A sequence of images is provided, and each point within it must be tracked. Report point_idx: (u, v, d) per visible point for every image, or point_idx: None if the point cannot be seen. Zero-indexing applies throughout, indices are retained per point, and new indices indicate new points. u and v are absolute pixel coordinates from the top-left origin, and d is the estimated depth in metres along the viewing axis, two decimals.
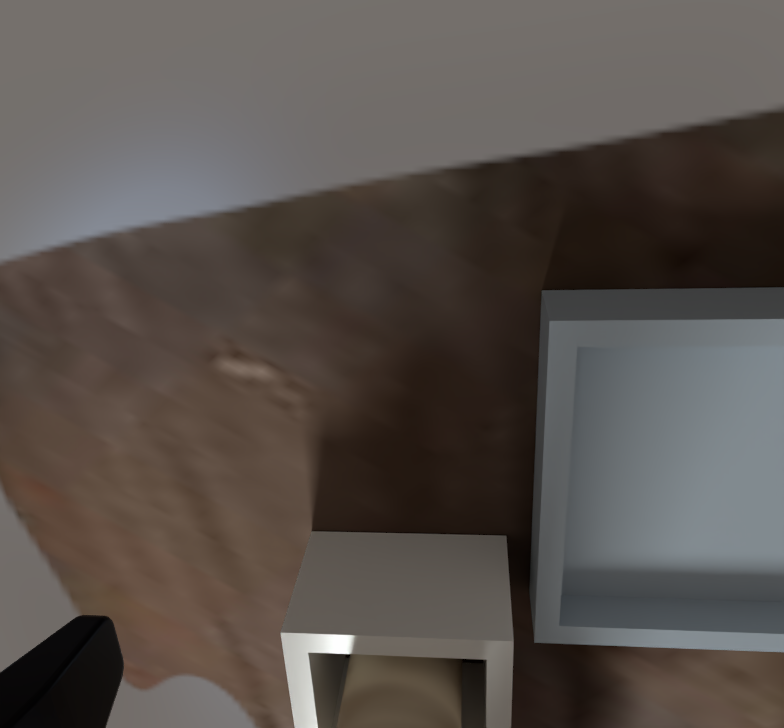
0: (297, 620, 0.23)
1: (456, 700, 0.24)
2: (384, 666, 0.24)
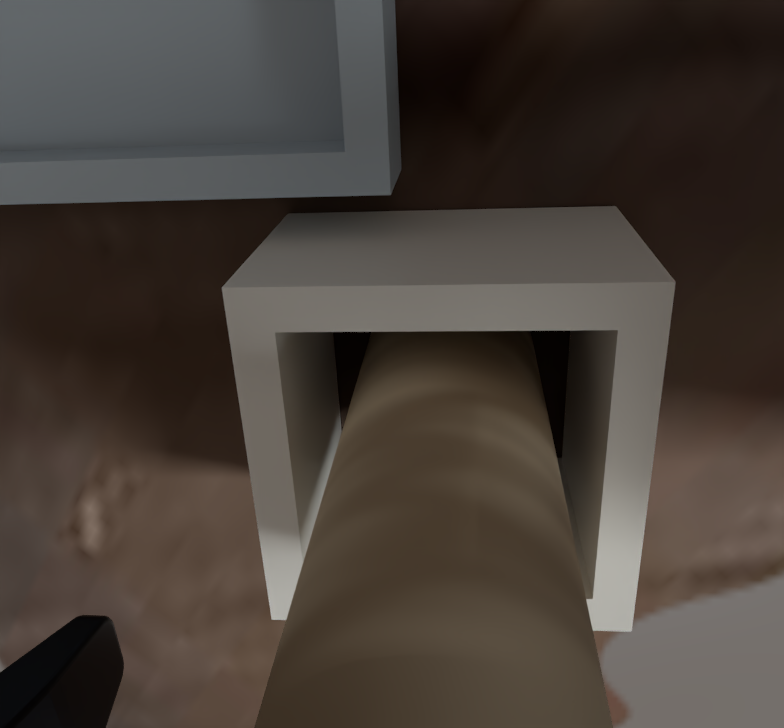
0: None
1: (399, 378, 0.13)
2: None
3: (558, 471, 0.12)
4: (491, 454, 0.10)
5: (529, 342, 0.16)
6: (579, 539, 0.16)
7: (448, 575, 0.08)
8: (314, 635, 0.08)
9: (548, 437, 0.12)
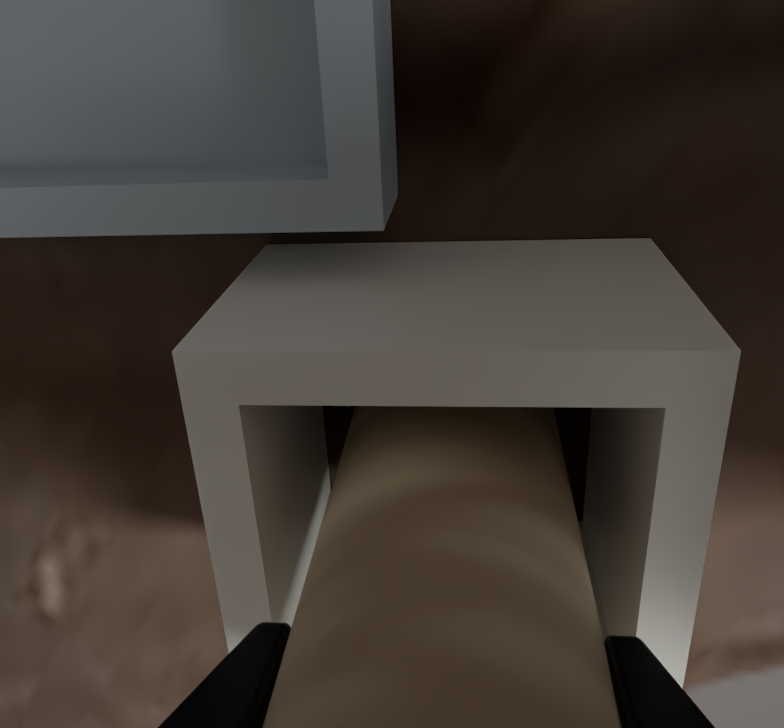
0: None
1: (391, 460, 0.10)
2: None
3: (589, 582, 0.10)
4: (508, 581, 0.08)
5: None
6: (606, 631, 0.13)
7: None
8: None
9: (575, 534, 0.10)
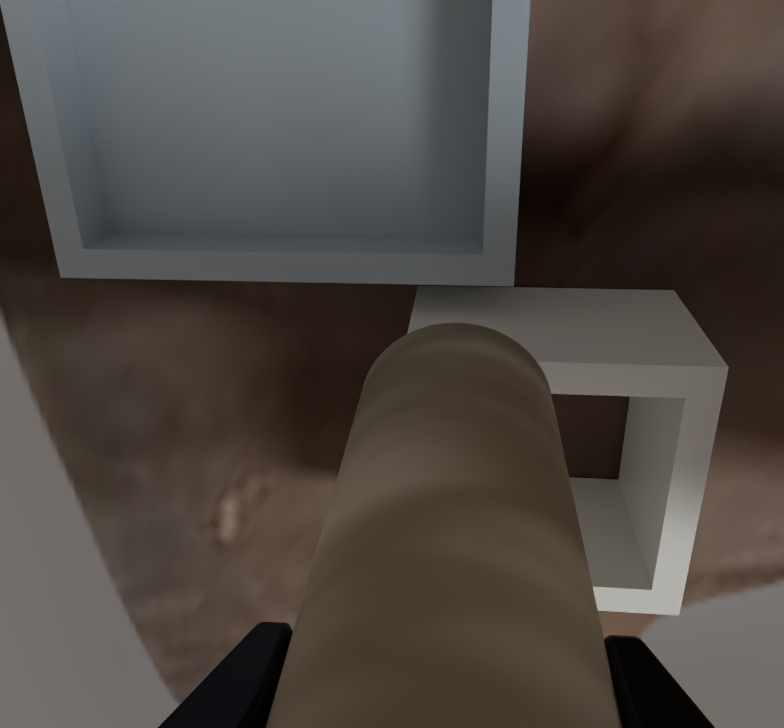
0: None
1: (393, 463, 0.10)
2: None
3: (590, 585, 0.10)
4: (510, 586, 0.08)
5: (548, 400, 0.14)
6: (638, 545, 0.20)
7: None
8: None
9: (577, 538, 0.10)
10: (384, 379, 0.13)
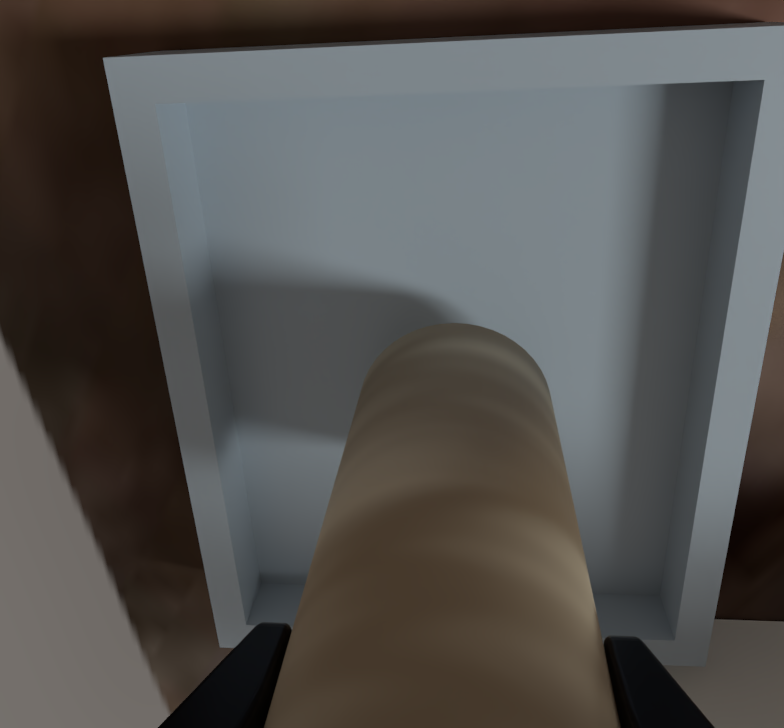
0: None
1: (392, 464, 0.10)
2: None
3: (589, 586, 0.10)
4: (507, 586, 0.08)
5: (547, 400, 0.14)
6: None
7: None
8: None
9: (576, 539, 0.10)
10: (383, 380, 0.13)
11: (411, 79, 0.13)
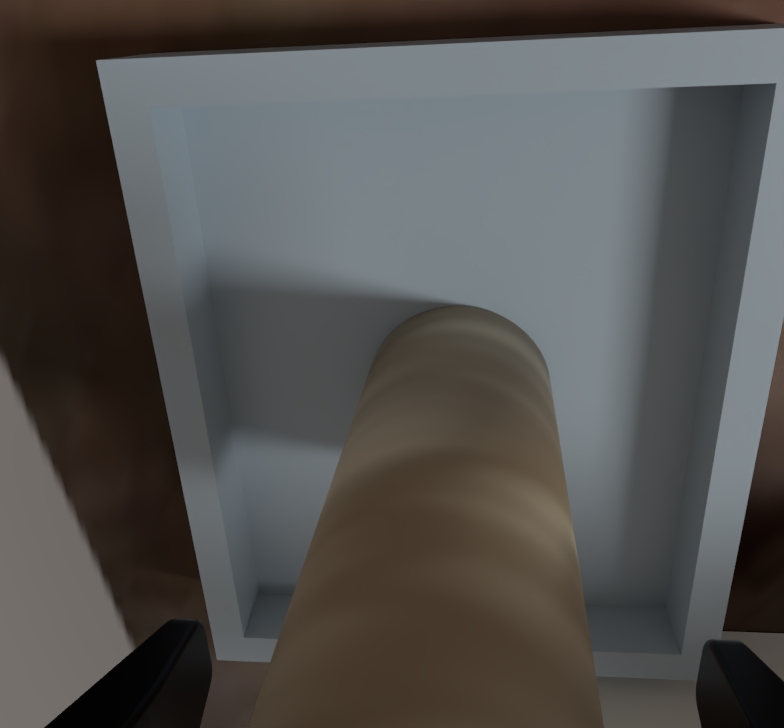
0: None
1: (393, 430, 0.11)
2: None
3: (573, 543, 0.10)
4: (493, 535, 0.09)
5: (544, 379, 0.14)
6: None
7: (430, 713, 0.06)
8: None
9: (562, 501, 0.11)
10: (389, 357, 0.14)
11: (413, 82, 0.12)
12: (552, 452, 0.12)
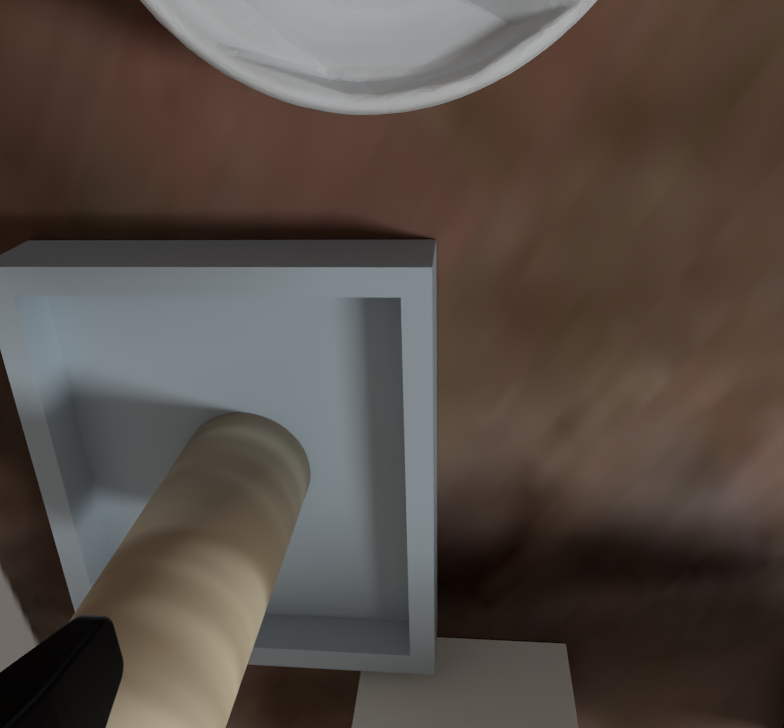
0: None
1: (155, 513, 0.18)
2: None
3: (253, 584, 0.17)
4: (179, 584, 0.16)
5: (291, 466, 0.21)
6: None
7: None
8: None
9: (255, 557, 0.18)
10: (184, 452, 0.21)
11: (178, 287, 0.19)
12: (264, 524, 0.19)
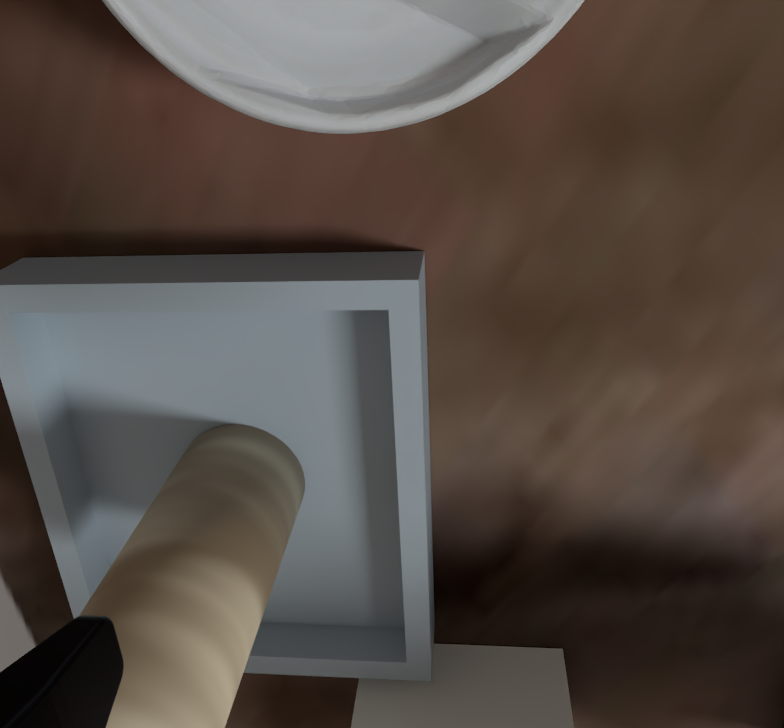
0: None
1: (150, 527, 0.18)
2: None
3: (247, 596, 0.18)
4: (173, 597, 0.16)
5: (285, 477, 0.22)
6: None
7: None
8: None
9: (249, 569, 0.18)
10: (179, 465, 0.21)
11: (169, 303, 0.19)
12: (258, 535, 0.19)
